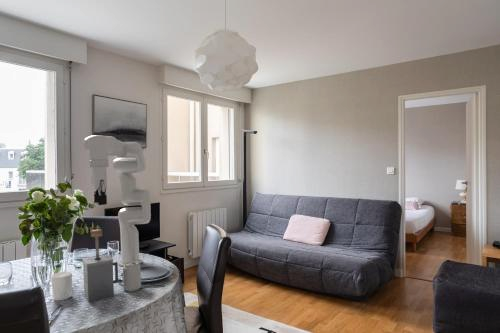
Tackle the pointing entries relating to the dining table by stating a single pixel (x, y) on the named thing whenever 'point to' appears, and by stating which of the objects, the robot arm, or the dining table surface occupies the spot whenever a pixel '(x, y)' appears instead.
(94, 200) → the robot arm
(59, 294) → the white cup
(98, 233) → the plunger
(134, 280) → the can
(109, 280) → the press carafe
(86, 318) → the dining table surface
